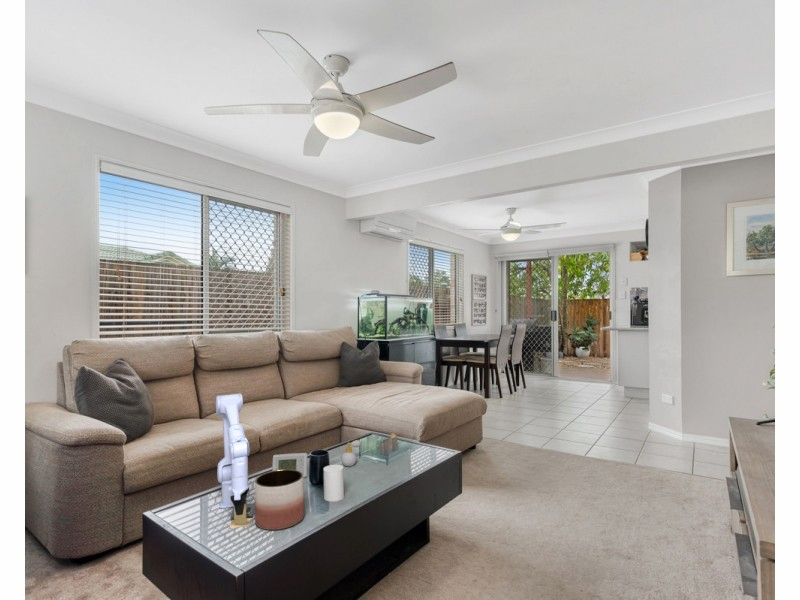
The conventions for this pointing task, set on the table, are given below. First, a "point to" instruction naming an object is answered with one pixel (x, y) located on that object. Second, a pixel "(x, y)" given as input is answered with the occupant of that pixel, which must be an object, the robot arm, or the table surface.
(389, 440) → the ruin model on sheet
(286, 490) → the planter
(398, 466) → the table surface
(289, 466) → the digital clock
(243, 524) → the coaster
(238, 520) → the brushed brass bar
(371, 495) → the table surface
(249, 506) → the grey square frame
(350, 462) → the perfume bottle
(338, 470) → the cup
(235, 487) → the robot arm
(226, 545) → the table surface
